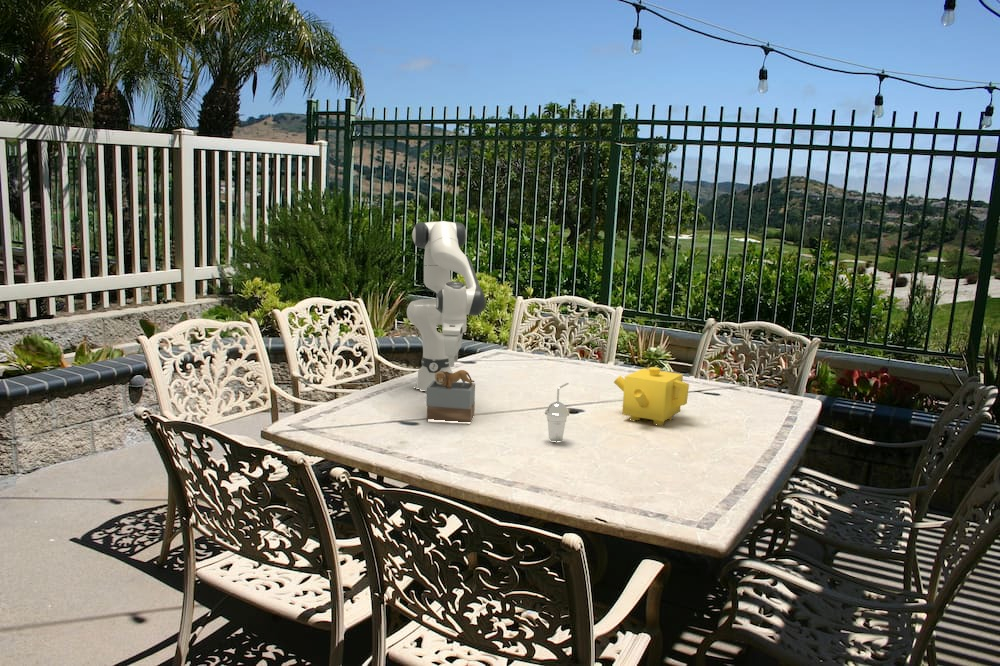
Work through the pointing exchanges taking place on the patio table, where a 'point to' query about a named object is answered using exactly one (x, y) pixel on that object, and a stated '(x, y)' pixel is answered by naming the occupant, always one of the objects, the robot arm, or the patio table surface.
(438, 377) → the lion figurine
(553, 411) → the cup with straw
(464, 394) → the grey storage bin
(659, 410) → the yellow teapot
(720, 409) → the patio table surface
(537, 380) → the patio table surface
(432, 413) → the tower bottom
